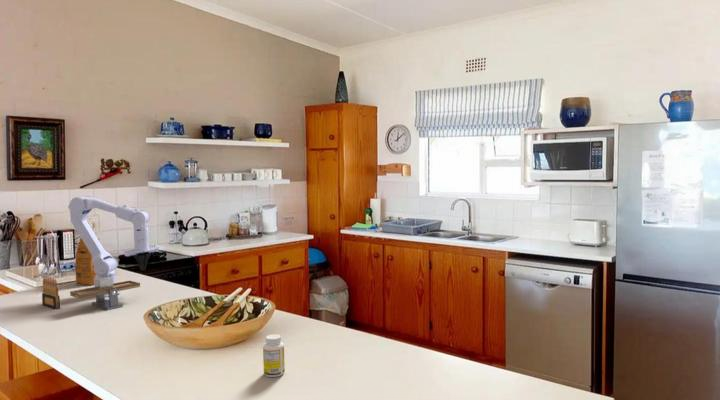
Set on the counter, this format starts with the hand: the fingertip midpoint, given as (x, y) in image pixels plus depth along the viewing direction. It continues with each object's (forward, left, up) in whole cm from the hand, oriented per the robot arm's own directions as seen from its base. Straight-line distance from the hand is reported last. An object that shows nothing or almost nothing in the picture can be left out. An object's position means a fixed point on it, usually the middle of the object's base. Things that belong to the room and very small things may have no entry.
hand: (142, 270), depth 226 cm
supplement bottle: (+110, -25, -11) cm, 113 cm away
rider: (+5, -20, -3) cm, 21 cm away
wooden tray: (+6, -19, -4) cm, 20 cm away
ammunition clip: (-11, -33, -11) cm, 36 cm away
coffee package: (-41, -4, -11) cm, 43 cm away
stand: (+6, -19, -10) cm, 22 cm away
